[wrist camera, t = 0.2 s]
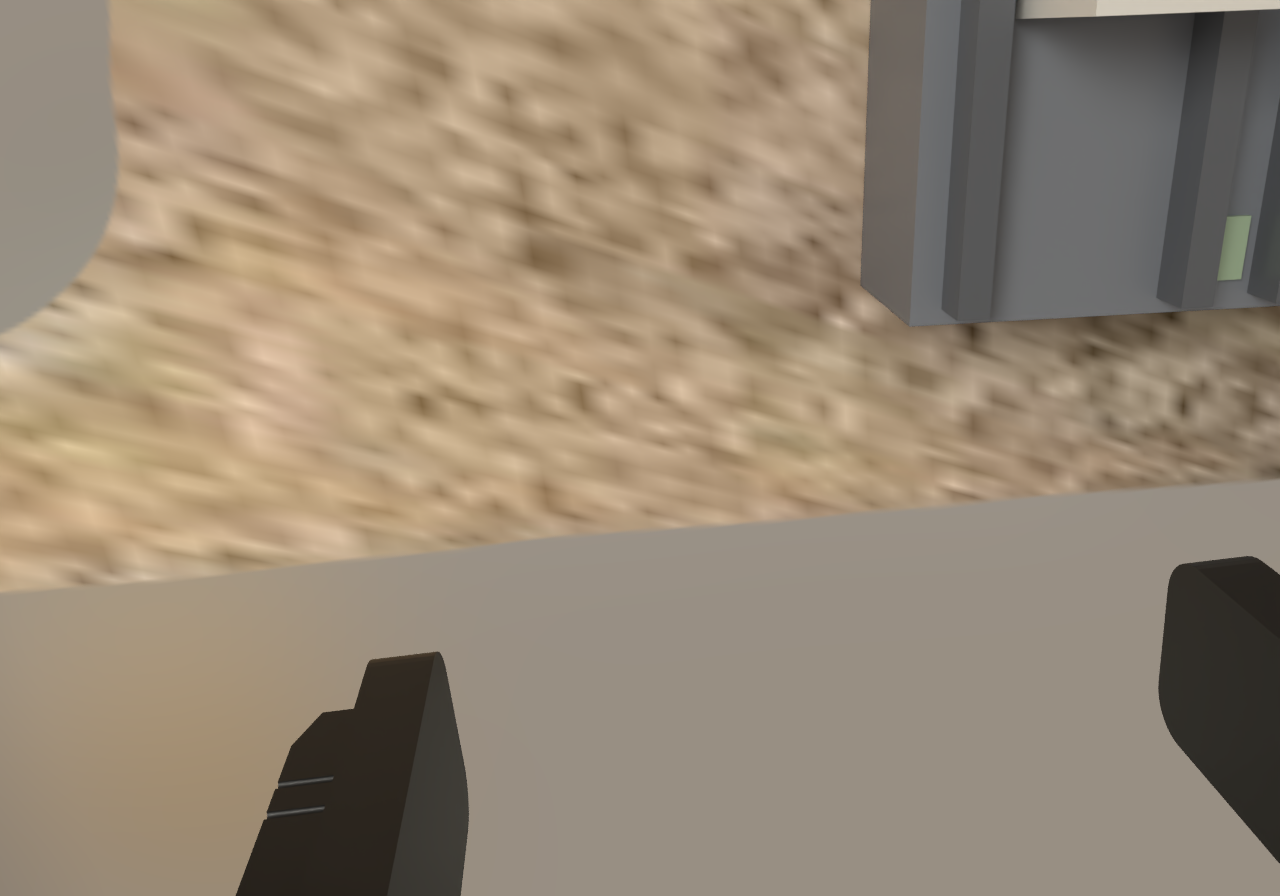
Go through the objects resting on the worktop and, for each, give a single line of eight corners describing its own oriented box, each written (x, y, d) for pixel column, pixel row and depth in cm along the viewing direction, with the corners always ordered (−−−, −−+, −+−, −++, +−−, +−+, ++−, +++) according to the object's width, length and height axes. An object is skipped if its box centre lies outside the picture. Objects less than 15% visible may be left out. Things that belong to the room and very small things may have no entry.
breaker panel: (874, -108, 35) (952, -143, 28) (1461, -128, 36) (1677, -167, 29) (860, 285, 40) (924, 338, 33) (1380, 257, 41) (1549, 303, 34)
